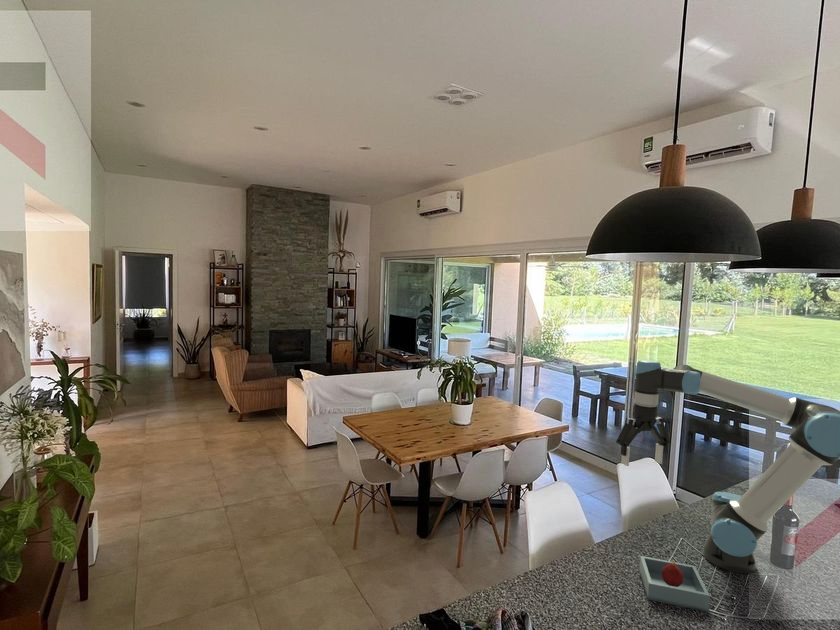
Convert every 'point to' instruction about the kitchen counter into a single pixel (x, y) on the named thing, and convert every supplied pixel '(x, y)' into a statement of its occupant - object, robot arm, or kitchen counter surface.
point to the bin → (684, 595)
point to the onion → (672, 575)
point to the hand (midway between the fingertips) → (642, 463)
